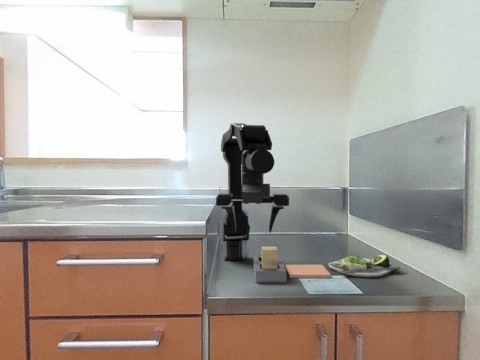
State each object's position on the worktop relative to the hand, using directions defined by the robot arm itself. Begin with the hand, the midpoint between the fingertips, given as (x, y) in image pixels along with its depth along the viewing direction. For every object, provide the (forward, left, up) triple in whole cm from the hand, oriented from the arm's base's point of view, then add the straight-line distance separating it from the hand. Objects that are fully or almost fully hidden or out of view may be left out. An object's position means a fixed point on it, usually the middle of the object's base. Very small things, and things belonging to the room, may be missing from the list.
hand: (252, 232), depth 98 cm
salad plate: (-11, +33, -13) cm, 37 cm away
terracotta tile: (-8, +16, -13) cm, 22 cm away
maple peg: (-3, +5, -13) cm, 14 cm away
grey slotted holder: (-7, +5, -13) cm, 15 cm away
